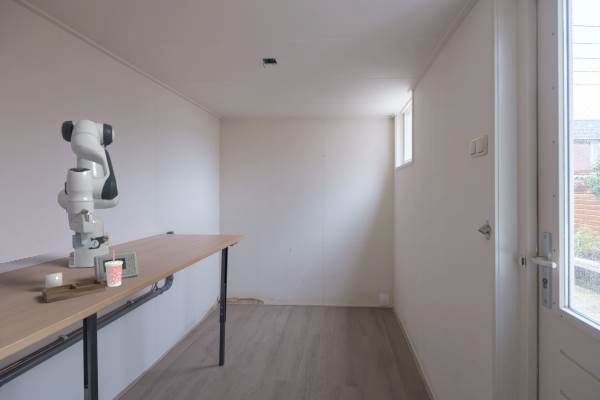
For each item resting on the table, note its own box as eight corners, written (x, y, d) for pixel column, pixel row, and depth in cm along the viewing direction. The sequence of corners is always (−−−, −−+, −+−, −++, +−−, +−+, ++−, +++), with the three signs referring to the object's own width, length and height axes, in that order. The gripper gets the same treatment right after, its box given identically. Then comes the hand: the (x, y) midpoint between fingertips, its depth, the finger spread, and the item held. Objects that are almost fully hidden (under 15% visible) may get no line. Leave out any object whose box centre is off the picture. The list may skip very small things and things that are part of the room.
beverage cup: (110, 282, 124) (109, 248, 124) (126, 282, 125) (125, 248, 124) (101, 287, 118) (101, 251, 118) (118, 287, 118) (117, 251, 118)
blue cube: (72, 247, 122) (72, 235, 122) (87, 245, 126) (87, 233, 126) (75, 249, 119) (75, 236, 119) (90, 247, 123) (90, 235, 122)
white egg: (44, 289, 116) (44, 274, 116) (61, 286, 119) (60, 271, 119) (47, 292, 112) (46, 276, 112) (64, 289, 116) (63, 273, 116)
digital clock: (93, 284, 122) (93, 258, 122) (94, 279, 130) (94, 254, 130) (139, 278, 131) (139, 253, 131) (137, 273, 139) (137, 250, 138)
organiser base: (42, 296, 108) (42, 289, 108) (98, 285, 121) (97, 278, 121) (47, 303, 102) (47, 294, 102) (105, 290, 115) (105, 283, 114)
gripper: (98, 209, 117) (98, 245, 118) (83, 207, 131) (84, 239, 131) (78, 210, 112) (79, 247, 113) (64, 207, 126) (65, 241, 127)
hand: (81, 243), depth 122 cm, fingers closed on blue cube, 5 cm apart
